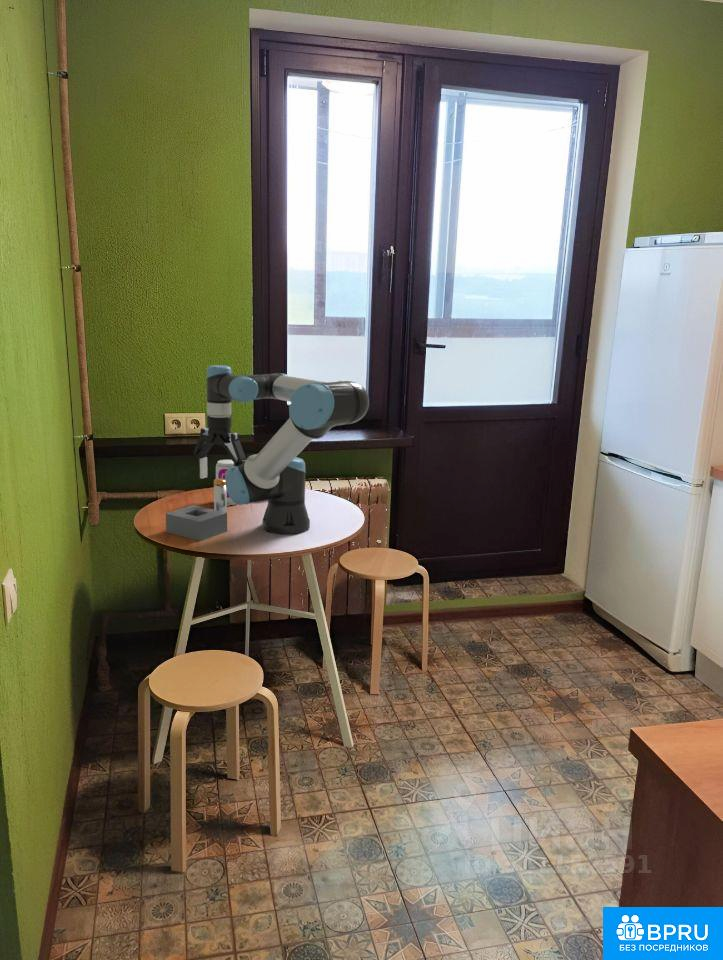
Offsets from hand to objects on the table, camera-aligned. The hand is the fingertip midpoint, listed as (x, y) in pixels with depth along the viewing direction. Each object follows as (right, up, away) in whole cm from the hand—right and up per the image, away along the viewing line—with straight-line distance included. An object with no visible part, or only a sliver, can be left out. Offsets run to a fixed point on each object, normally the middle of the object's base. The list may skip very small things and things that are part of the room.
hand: (219, 481), depth 236 cm
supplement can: (-2, -8, +25) cm, 26 cm away
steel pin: (0, -13, +3) cm, 14 cm away
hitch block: (-6, -16, -8) cm, 18 cm away
